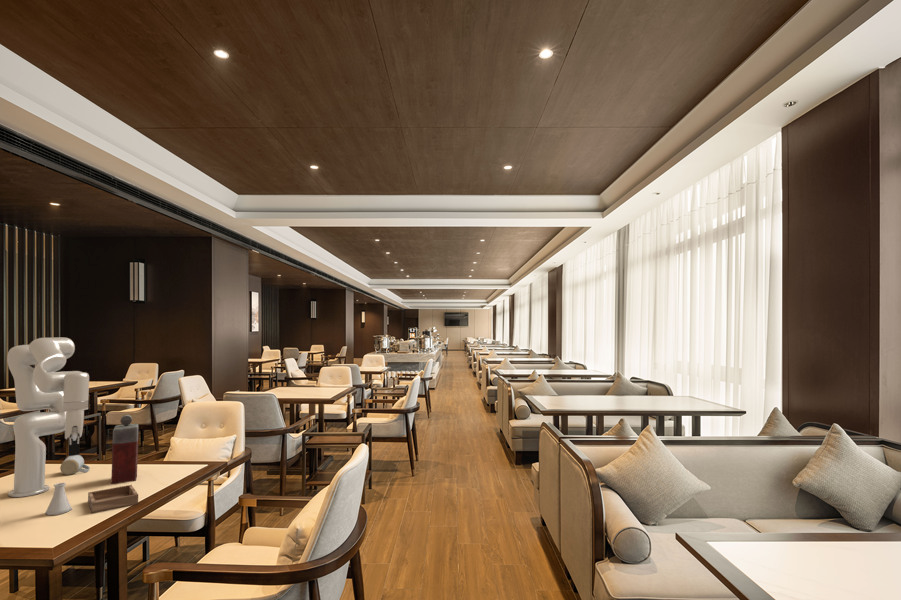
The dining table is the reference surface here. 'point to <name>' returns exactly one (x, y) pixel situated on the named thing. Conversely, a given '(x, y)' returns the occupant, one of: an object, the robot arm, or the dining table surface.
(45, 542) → the dining table surface
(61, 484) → the flask
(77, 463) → the ceramic mug
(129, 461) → the red decanter
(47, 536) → the dining table surface
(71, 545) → the dining table surface
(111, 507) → the box
